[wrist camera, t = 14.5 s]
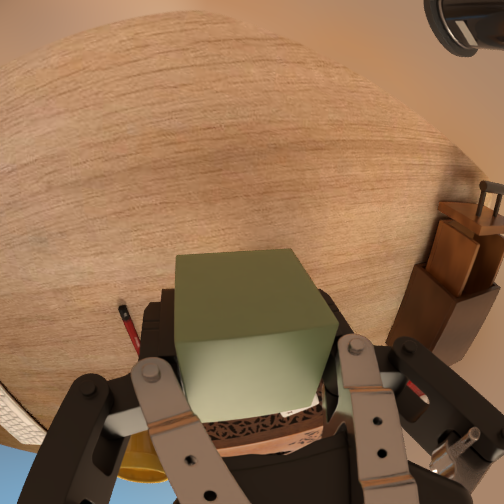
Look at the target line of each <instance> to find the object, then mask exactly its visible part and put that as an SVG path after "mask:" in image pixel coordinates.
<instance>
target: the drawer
mask: <svg viewBox="0 0 504 504" xmlns="http://www.w3.org/2000/svg"><path fill="white" fill-rule="evenodd" d="M479 187H480V190H481V194H480V198H479V203H478V204H473V203H458V202H441V201H440V202H439V206H438V210H439V211H440V212H442V213H444V214H446V215H447V216H449V217H450V218H452V219H454V220H440V221H439V225H438V229H437V233H436V236H435V240H434V243H433V247H432V250H431V253H430V256H429V259H428V263H427V266H426V269H425V270H426V271H427V272H428V273H429V274H430V275H432V276H433V277H434V278H435V279H436V280H437V281H438V282H439V283H441V284H442V285H443V286H444V287H445V288H446V289H447V290H448V291H449V292H450V293H451V294H453V295H454V296H455V297H456V298H460V297H463V296H467V295H470V294H473V293H476V292H479V291H482V290H485V289H487V288H490V287H492V285H493V283H494V280H495V278H496V276H497V273H498V271H499V268H500V266H501V263H502V261H503V258H504V237H503V236H502V235H500V234H504V217H503V216H501V215H500V214H498V211H499V207H500V202H501V199H502V195H504V185H503V184H498V183H493V182H489V181H484V180H483V181H481V182H480V184H479ZM486 192H488V193H496V194H498V195H497V199H496V204H495V208H494V211H493V210H491V209H489V208H488V207H486V206H484V201H485V197H486ZM501 194H502V195H501Z"/></svg>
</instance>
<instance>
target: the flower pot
mask: <svg viewBox="0 0 504 504" xmlns="http://www.w3.org/2000/svg"><path fill="white" fill-rule="evenodd" d="M117 477H119V478H121V479H124V480H128V481H133V482H139V483H160V482H164V481H167V480H168V478H167V476H166V474H165V471H164V469H163V467H162V465H161V462H160V460H159V458H158V455H157V453H156V451H155V448H154V446H153V443H152V441H151V438H150V436H149V433H148V430H145V431H142V432H139V433H136V434H132V435H131V437H130V440H129V443H128V446H127V449H126V451H125V454H124V457H123V460H122V463H121V466H120V469H119V473H118V476H117Z"/></svg>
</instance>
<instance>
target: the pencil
mask: <svg viewBox="0 0 504 504" xmlns="http://www.w3.org/2000/svg"><path fill="white" fill-rule="evenodd" d="M118 310H119V312H120V315H121V317H122V320H123V322H124V325H125V327H126V329H127V332H128V334H129V336H130V338H131V341H132V343H133V345H134V347H135V349H136V352H137V354H138V356H139V350H140V340H139V337H138V335H137V333H136V330H135V328H134V325H133V323H132V320H131V318H130V315H129V313H128V310H127V308H126V305H122V306H119V308H118Z"/></svg>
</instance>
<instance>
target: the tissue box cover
mask: <svg viewBox="0 0 504 504" xmlns="http://www.w3.org/2000/svg"><path fill="white" fill-rule="evenodd" d="M323 383H324V382H323V380H322V378H321V380H320V383H319V386H318V388H317V391H316V394H317V397H318V401H319V404H317V405H315V406H313V407H310V408H308V409H305V410H303V411H300V412H298V413H295V414H293V415H290V416H287V417H283V416H282V415H281V413H275V414H270V415H264V416H257V417H250V418H243V419H235V420H227V421H217V422H206V423H202V424H203V426H204V428H205V430H206V431H207V433H208V435H209V437H210V439H211V440H212V442H213V444H214V446H215V447H216V449H217V451H218V453H219V454H220V456H221V457H230V456H238V455H245V454H267V455H287V454H290V453H292V452H294V451H296V450H298V449H300V448H302V447H304V446H306V445H308V444H310V443H312V442H314V441H316V440H319V439H321V436H322V432H323V409H322V385H323ZM185 397H186V396H185Z"/></svg>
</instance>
